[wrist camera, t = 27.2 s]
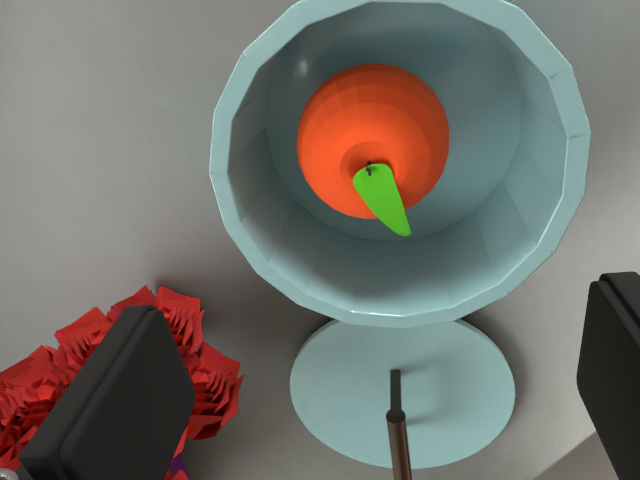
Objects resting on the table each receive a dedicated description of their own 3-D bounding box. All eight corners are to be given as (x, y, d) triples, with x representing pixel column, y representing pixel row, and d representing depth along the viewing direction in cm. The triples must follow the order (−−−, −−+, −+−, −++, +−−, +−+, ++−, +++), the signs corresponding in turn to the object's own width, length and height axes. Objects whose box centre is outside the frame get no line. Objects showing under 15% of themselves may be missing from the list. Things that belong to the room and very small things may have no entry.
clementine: (470, 168, 25) (495, 232, 19) (353, 217, 28) (343, 289, 22) (409, 23, 22) (416, 45, 16) (283, 92, 25) (248, 134, 19)
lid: (311, 455, 40) (299, 525, 35) (272, 305, 32) (251, 367, 27) (508, 456, 37) (526, 533, 32) (516, 292, 29) (541, 359, 24)
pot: (283, 256, 30) (254, 335, 24) (224, -2, 23) (161, 11, 17) (527, 239, 28) (570, 323, 21) (544, -59, 21) (615, -70, 14)
